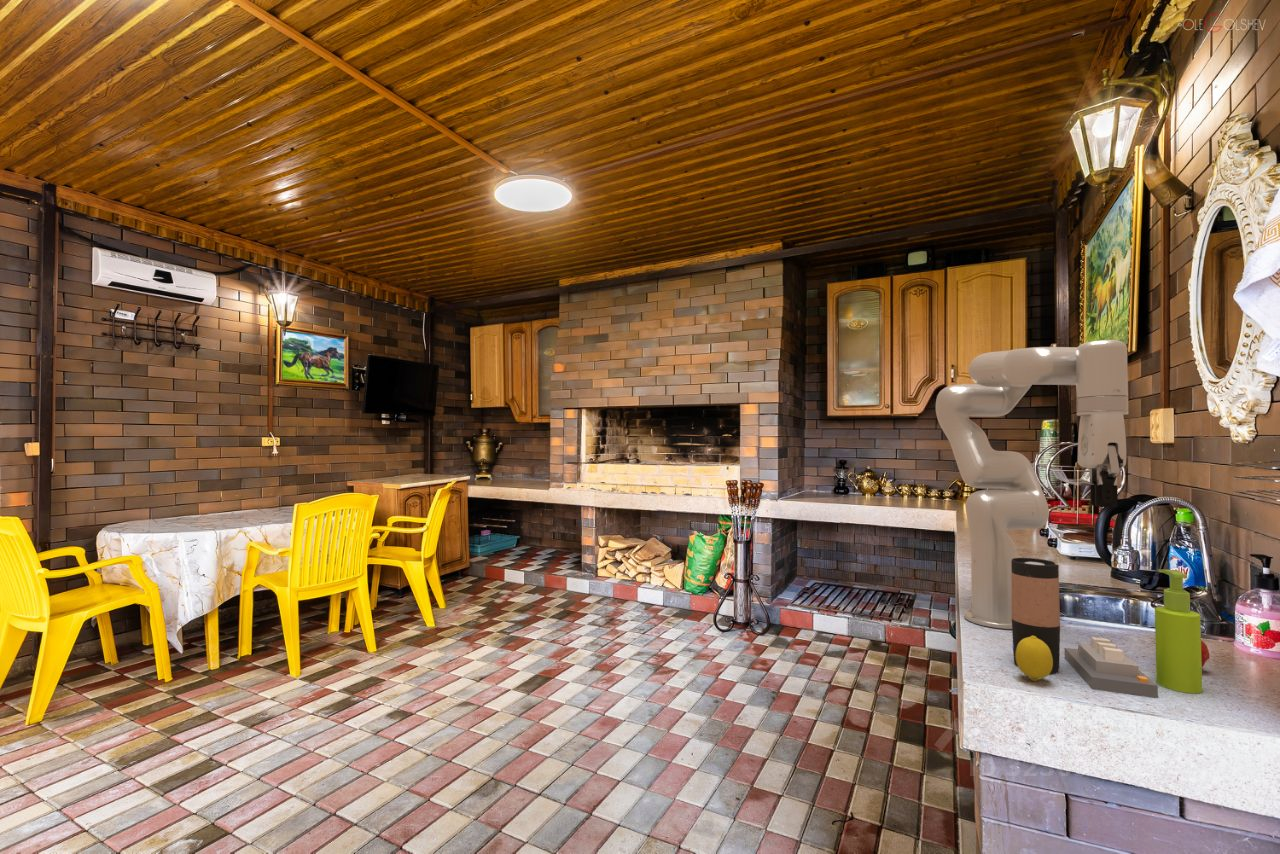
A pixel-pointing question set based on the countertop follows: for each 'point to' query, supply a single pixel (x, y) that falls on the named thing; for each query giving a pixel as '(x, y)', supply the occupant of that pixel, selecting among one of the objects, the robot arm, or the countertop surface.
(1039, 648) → the lemon
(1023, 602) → the travel mug
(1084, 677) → the breaker panel
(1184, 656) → the soap dispenser
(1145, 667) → the countertop surface
